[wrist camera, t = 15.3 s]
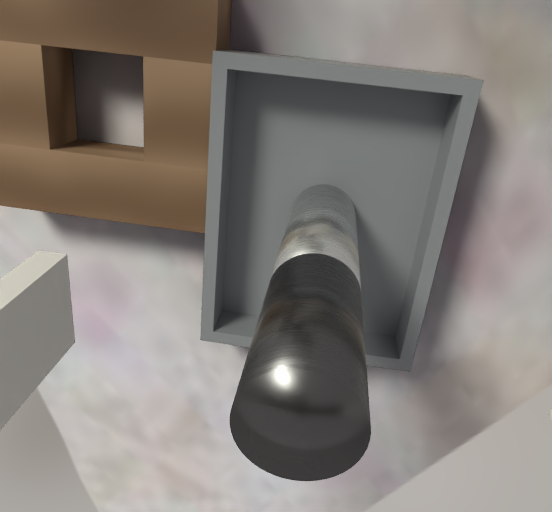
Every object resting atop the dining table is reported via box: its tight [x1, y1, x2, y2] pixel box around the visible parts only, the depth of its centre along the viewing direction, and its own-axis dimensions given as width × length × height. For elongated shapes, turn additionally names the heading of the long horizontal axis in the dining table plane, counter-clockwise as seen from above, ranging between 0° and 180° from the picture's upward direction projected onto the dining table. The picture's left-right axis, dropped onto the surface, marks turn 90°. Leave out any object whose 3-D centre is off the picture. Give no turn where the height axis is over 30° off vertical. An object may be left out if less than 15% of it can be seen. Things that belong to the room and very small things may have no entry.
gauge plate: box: [0, 0, 232, 233], centre depth 22 cm, size 10×10×2 cm
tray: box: [200, 50, 483, 372], centre depth 23 cm, size 13×10×3 cm
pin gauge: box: [230, 184, 371, 481], centre depth 17 cm, size 3×3×14 cm
